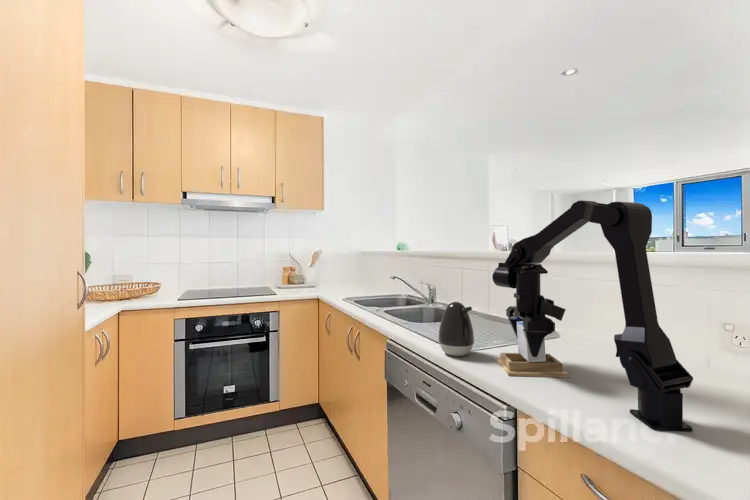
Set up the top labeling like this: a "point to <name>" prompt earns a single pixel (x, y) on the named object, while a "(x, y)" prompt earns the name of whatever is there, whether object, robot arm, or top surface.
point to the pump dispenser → (456, 330)
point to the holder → (531, 366)
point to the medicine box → (524, 347)
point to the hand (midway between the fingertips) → (528, 351)
